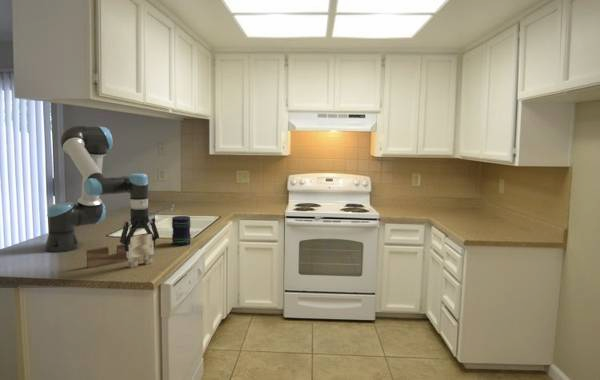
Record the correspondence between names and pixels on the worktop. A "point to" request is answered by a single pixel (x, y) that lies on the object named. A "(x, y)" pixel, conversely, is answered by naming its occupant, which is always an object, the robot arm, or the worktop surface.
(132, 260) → the birch plate
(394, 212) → the worktop surface
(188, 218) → the storage jar
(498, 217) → the worktop surface
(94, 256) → the walnut board
